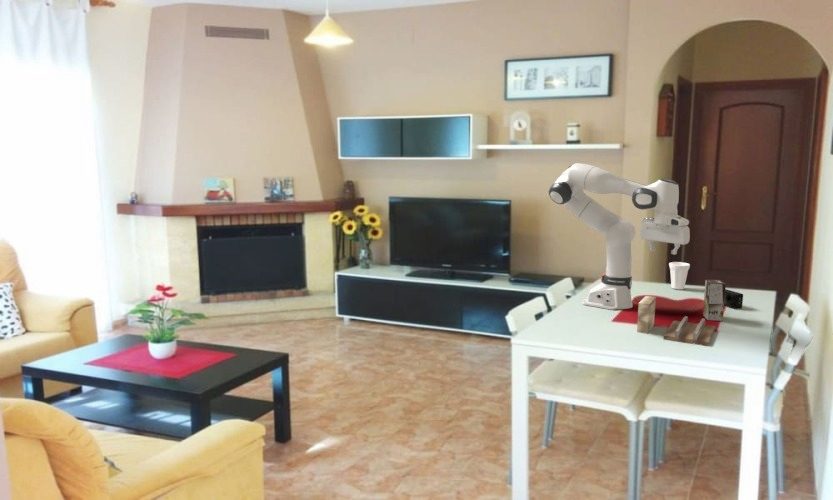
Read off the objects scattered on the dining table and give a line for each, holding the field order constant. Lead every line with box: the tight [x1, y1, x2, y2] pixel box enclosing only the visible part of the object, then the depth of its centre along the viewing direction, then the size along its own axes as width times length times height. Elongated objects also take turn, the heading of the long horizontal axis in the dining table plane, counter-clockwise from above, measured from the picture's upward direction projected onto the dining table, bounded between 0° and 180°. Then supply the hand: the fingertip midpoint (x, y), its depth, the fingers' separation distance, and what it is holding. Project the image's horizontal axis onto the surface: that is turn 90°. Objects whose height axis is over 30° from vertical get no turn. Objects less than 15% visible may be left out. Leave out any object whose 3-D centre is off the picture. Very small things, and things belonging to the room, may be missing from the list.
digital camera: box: [724, 288, 744, 310], centre depth 307 cm, size 10×5×7 cm, turn 20°
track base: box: [662, 315, 716, 346], centre depth 263 cm, size 16×24×4 cm, turn 150°
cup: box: [668, 261, 691, 290], centre depth 341 cm, size 10×10×13 cm
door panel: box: [636, 295, 657, 334], centre depth 271 cm, size 4×14×12 cm, turn 150°
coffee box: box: [702, 279, 727, 322], centre depth 286 cm, size 9×6×16 cm
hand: (663, 252), depth 273 cm, fingers open, 8 cm apart
